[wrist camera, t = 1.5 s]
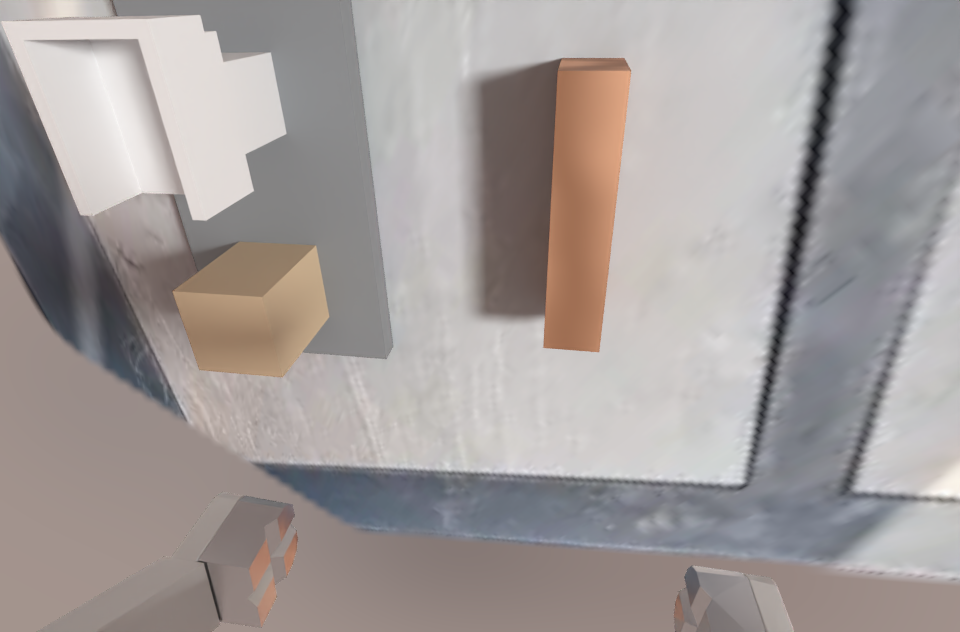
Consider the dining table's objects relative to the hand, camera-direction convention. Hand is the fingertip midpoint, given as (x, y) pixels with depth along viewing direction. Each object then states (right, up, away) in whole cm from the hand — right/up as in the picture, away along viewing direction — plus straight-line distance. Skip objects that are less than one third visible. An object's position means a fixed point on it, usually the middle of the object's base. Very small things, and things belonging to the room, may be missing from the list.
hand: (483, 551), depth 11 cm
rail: (+6, +12, +19) cm, 23 cm away
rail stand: (-12, +13, +22) cm, 28 cm away
